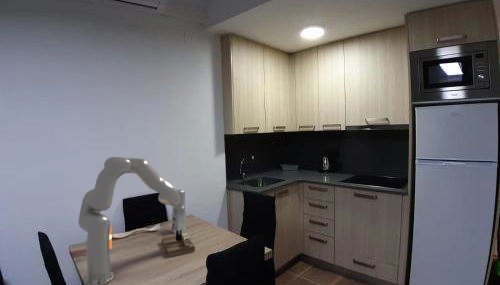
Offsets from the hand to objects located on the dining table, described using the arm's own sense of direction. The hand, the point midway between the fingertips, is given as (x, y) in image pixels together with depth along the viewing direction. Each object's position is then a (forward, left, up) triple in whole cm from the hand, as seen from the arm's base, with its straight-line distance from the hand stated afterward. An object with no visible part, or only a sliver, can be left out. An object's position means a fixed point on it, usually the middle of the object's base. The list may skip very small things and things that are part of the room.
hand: (178, 240), depth 164 cm
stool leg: (-3, -3, -1) cm, 5 cm away
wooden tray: (+1, +1, -4) cm, 4 cm away
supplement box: (+29, -6, -4) cm, 30 cm away
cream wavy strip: (+36, +21, -5) cm, 42 cm away
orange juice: (+21, +42, -4) cm, 47 cm away
